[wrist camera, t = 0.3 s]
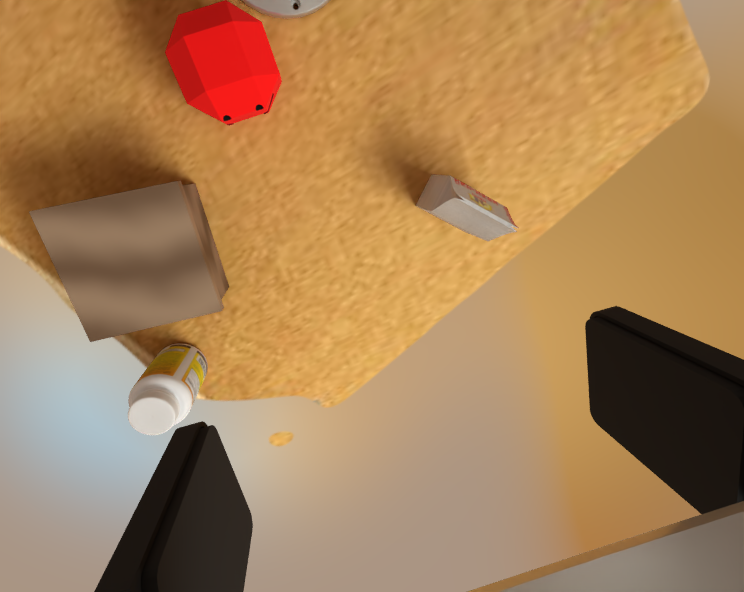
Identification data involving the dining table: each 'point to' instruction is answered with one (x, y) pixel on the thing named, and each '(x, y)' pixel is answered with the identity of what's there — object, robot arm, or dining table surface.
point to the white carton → (465, 208)
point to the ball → (223, 62)
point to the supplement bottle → (167, 389)
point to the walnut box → (135, 258)
